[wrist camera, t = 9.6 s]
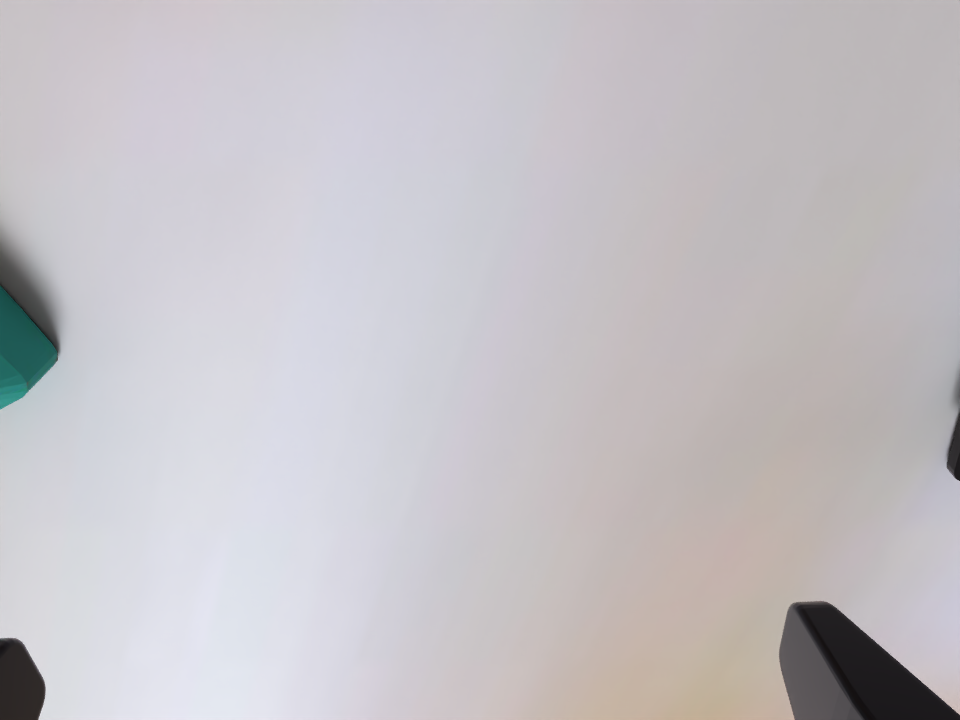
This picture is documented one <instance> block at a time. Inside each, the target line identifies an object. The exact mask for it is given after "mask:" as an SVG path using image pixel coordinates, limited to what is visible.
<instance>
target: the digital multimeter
mask: <svg viewBox="0 0 960 720" xmlns="http://www.w3.org/2000/svg"><path fill="white" fill-rule="evenodd" d="M57 360H58V354H57V351H56V349H55V348H54V346H53V345H52V343H51V342H50V341H49V340H48V339H47V338H46V336H45V335H44V334H43V333H42V332H41V331H40V329H39V328H38V327H37V326H36V325H35V324H34V322H33V321H32V320H31V319H30V318H29V317H28V316H27V314H26V313H25V312H24V311H23V310H22V309H21V307H20V306H19V305H18V304H17V303H16V302H15V301H14V300H13V299H12V298H11V297H10V295H9V294H8V293H7V292H6V291H5V290H4V289H3V288H2V287H1V286H0V409H2V408H4V407H6V406H7V405H9V404H11V403H13V402H15V401H17V400H19V399H20V398H22V397H23V396H24V395H25V394H26V393H27V392H28V391H29V390H30V389H31V388H32V387H33V386H34V385H35V384H36V383H37V382H38V381H39V380H40V379H41V378H42V377H43V376H44V375H45V374H46V373H47V372H48V370H49V369H50V368H51V367H52V366H53V365H54V364H55V363H56V361H57Z"/></svg>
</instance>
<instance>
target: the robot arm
mask: <svg viewBox="0 0 960 720" xmlns="http://www.w3.org/2000/svg"><path fill="white" fill-rule="evenodd" d="M954 436H955V437H954V440H953V444H952V447H951V451H950V454H949V458H948V461H947V469H948V470H949V472H950V473H951V474H952V475H953V476H954V477H955V478H956V479H957V480H959V481H960V416H959V419H958V423H957V426H956V430H955V433H954ZM779 659H780V666H781V671H782V675H783V678H784V682H785V686H786V689H787V693H788V697H789V700H790V704H791V707H792V711H793V715H794V718H795V720H960V715H959V714H958V713H957V712H956V711H954V710H953V709H952V708H951V707H950V706H949V705H947V704H946V703H945V702H944V701H943V700H942V699H941V698H939V697H938V696H937V695H936V694H935V693H934V692H933V691H931V690H930V689H929V688H928V687H927V686H926V685H924V684H923V683H922V682H921V681H920V680H919V679H918V678H916V677H915V676H914V675H913V674H912V673H911V672H909V671H908V670H907V669H906V668H905V667H904V666H903V665H901V664H900V663H899V662H898V661H897V660H896V659H894V658H893V657H892V656H891V655H890V654H889V653H888V652H886V651H885V650H884V649H883V648H882V647H881V646H879V645H878V644H877V643H876V642H875V641H874V640H873V639H871V638H870V637H869V636H868V635H867V634H866V633H864V632H863V631H862V630H861V629H860V628H859V627H858V626H856V625H855V624H854V623H853V622H852V621H851V620H850V619H848V618H847V617H846V616H845V615H844V614H843V613H841V612H840V611H839V610H838V609H837V608H836V607H834V606H833V605H831V604H829V603H827V602H823V601H814V602H796V603H793V604H792V605H791V606H790V607H789V609H788V612H787V616H786V621H785V625H784V630H783V635H782V639H781V644H780V650H779ZM44 699H45V683H44V679H43V677H42V675H41V674H40V672H39V670H38V668H37V667H36V665H35V663H34V661H33V660H32V658H31V656H30V654H29V652H28V651H27V649H26V647H25V645H24V644H23V643H22V642H21V641H20V640H18V639H16V638H0V720H38V719H39V716H40V713H41V710H42V707H43V703H44Z"/></svg>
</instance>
